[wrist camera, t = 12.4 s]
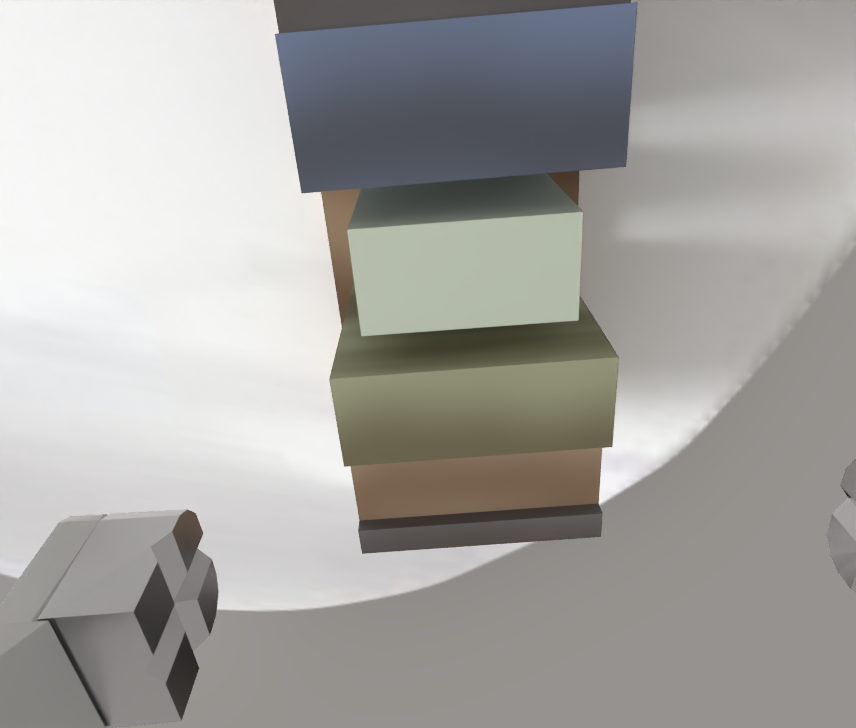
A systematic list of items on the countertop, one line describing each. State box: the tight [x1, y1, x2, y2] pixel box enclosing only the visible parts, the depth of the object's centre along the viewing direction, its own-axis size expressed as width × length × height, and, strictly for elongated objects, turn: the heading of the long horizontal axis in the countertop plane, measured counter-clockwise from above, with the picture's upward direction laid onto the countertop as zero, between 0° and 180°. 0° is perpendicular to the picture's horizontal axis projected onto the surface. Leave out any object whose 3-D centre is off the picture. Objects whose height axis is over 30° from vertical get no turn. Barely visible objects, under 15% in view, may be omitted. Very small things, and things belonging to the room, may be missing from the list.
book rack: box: [274, 0, 637, 554], centre depth 20 cm, size 24×10×11 cm, turn 4°
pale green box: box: [347, 173, 583, 336], centre depth 21 cm, size 3×6×9 cm, turn 94°
